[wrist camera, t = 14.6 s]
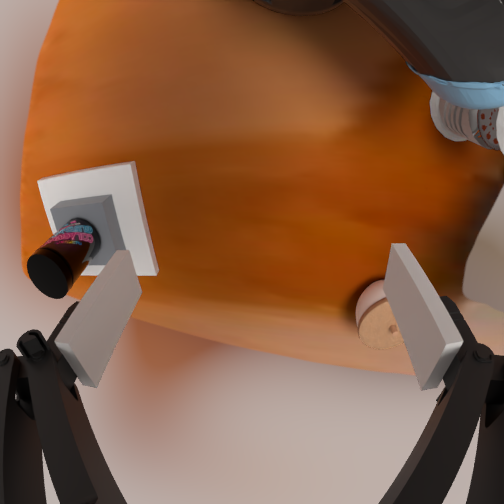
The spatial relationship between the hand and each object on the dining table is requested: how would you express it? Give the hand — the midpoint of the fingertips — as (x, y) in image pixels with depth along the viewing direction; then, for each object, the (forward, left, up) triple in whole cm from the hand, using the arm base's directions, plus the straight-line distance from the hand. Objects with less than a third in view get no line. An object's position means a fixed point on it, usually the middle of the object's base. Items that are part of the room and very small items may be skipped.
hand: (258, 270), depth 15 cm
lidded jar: (+24, +18, -27) cm, 40 cm away
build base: (+9, -27, -27) cm, 39 cm away
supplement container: (+9, -27, -22) cm, 36 cm away
